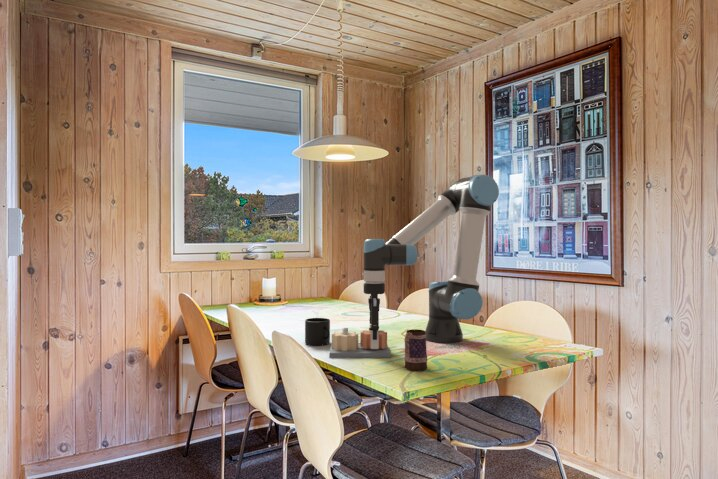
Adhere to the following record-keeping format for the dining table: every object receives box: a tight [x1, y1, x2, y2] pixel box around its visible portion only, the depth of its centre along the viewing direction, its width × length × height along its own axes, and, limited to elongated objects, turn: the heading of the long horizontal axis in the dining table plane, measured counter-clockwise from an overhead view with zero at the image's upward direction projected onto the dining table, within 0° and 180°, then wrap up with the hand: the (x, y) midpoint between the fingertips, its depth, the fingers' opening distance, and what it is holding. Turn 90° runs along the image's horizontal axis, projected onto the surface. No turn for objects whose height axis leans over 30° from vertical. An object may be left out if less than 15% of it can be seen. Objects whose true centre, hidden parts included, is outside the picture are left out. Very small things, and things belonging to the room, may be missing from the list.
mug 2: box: [404, 328, 428, 372], centre depth 154 cm, size 10×7×12 cm
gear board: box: [328, 327, 391, 358], centre depth 177 cm, size 21×16×8 cm
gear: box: [359, 329, 388, 349], centre depth 177 cm, size 9×9×5 cm
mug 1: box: [304, 317, 331, 347], centre depth 191 cm, size 9×12×9 cm
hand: (373, 345), depth 177 cm, fingers closed on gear, 9 cm apart
